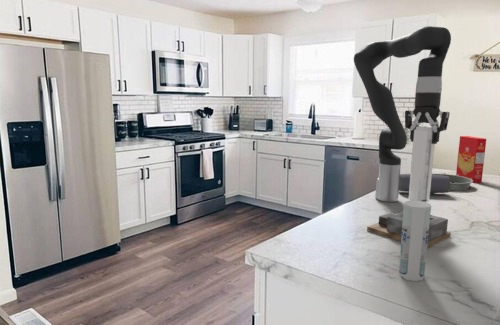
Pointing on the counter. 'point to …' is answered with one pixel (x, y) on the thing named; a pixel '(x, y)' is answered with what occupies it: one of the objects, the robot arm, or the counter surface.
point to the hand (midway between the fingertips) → (423, 142)
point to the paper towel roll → (421, 164)
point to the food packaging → (471, 158)
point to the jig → (393, 228)
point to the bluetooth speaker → (437, 183)
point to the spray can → (414, 239)
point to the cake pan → (458, 182)
